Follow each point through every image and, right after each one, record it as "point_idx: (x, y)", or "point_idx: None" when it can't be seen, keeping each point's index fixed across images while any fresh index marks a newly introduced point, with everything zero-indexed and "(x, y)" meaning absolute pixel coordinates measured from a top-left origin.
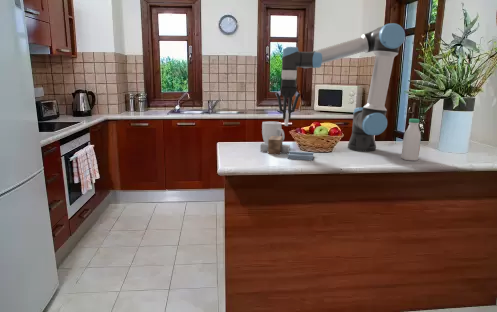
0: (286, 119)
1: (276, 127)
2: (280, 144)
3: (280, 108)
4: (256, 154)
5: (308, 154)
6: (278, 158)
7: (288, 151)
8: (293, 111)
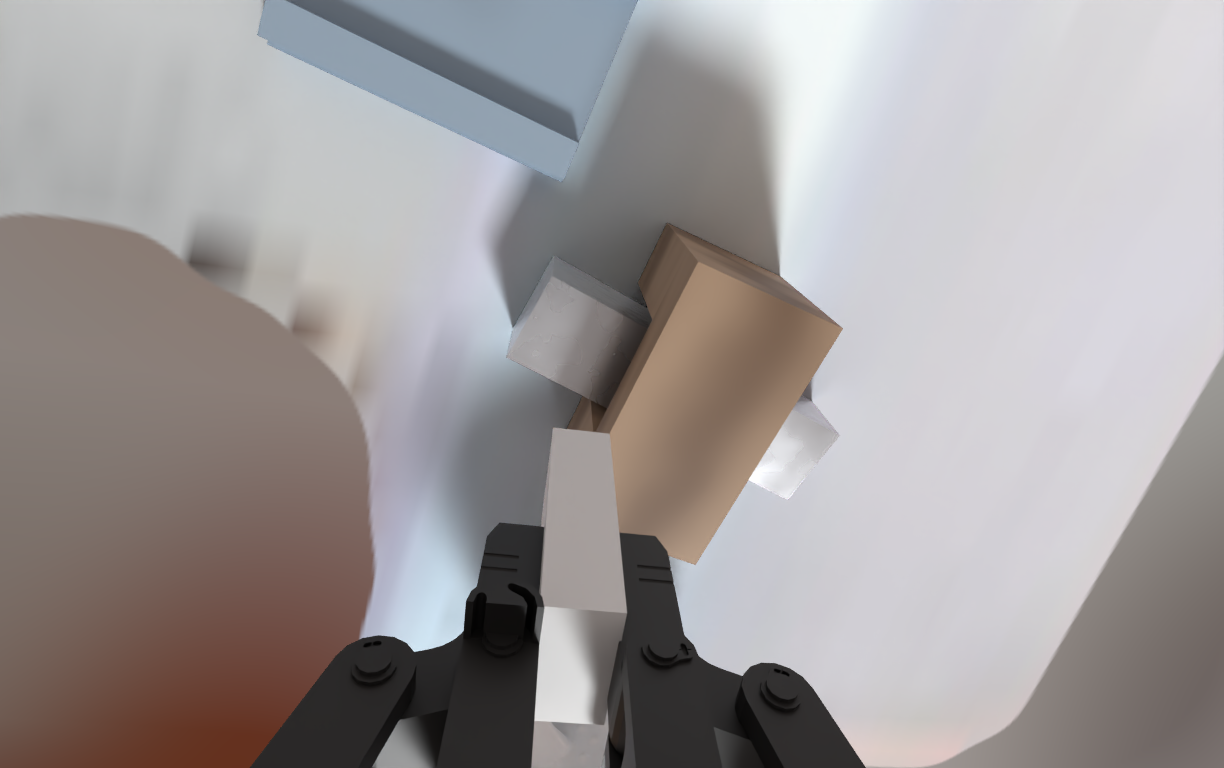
0: (595, 505)
1: (585, 762)
2: (657, 299)
3: (838, 756)
4: (913, 262)
5: (340, 25)
6: (757, 5)
7: (544, 275)
8: (377, 648)
